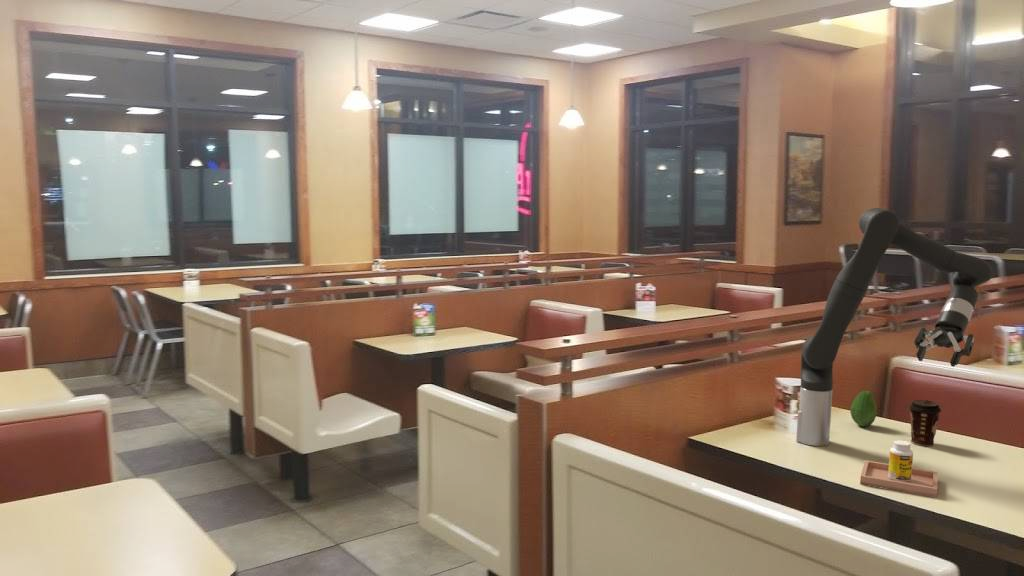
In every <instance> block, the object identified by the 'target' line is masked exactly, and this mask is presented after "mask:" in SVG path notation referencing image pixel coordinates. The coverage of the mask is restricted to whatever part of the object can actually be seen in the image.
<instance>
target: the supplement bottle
mask: <svg viewBox="0 0 1024 576" xmlns="http://www.w3.org/2000/svg"><path fill="white" fill-rule="evenodd" d="M911 447H912V446H911V443H910V442H909V441H905V440H899V439H898V440H894V441H893V446H892V447H891V448H890V449H889V450H890V451H889V460H888V464H889V470H888V477H889V478H890V479H892V480H894V481H900V482H908V481H910V480H911V472H912V468H913V458H914V452H913V450H911Z"/></svg>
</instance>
